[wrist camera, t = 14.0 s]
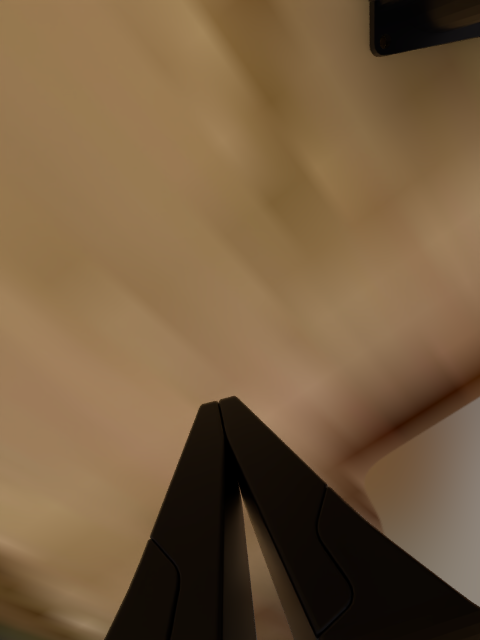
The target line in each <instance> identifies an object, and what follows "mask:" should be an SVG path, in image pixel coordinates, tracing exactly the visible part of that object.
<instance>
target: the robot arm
mask: <svg viewBox="0 0 480 640" xmlns="http://www.w3.org/2000/svg"><path fill="white" fill-rule="evenodd" d="M369 1H370V50H371V52H372V54H373V55H375V56H376V57H382V56H387V55H392V54H397V53H402V52H407V51H412V50H417V49H422V48H427V47H432V46H437V45H442V44H447V43H452V42H456V41H461V40H466V39H471V38H476V37H480V0H369ZM382 36H384V37H385V38H386V45H385V47H384V48H382V47H381V46H380V39H381V37H382ZM239 487H240V489H239ZM240 491H241V494H240ZM241 495H242V498H243V501H244V504H245V507H246V509H247V512H248V515H249V518H250V520H251V523H252V526H253V528H254V531H255V534H256V537H257V539H258V542H259V545H260V547H261V550H262V553H263V556H264V558H265V561H266V564H267V567H268V569H269V572H270V575H271V577H272V580H273V583H274V586H275V588H276V591H277V594H278V596H279V599H280V602H281V605H282V607H283V610H284V613H285V615H286V618H287V621H288V624H289V626H290V629H291V632H292V635H293V637H294V640H480V607H479V606H477V605H476V604H474V603H473V602H471V601H470V600H468V599H467V598H466V597H464V596H463V595H462V594H460V593H459V592H458V591H456V590H455V589H454V588H452V587H451V586H450V585H448V584H447V583H446V582H445V581H443V580H442V579H441V578H439V577H438V576H437V575H435V574H434V573H433V572H432V571H430V570H429V569H428V568H426V567H425V566H424V565H422V564H421V563H420V562H419V561H417V560H416V559H415V558H413V557H412V556H411V555H409V554H408V553H407V552H406V551H404V550H403V549H402V548H400V547H399V546H398V545H396V544H395V543H394V542H393V541H391V540H390V539H389V538H387V537H386V536H385V535H384V534H382V533H381V532H380V531H379V530H378V529H376V528H375V527H374V526H373V525H371V524H370V523H369V522H368V521H366V520H365V519H364V518H363V517H362V516H361V515H360V514H358V513H357V512H356V511H355V510H354V509H353V508H352V507H351V506H350V505H349V504H347V503H346V502H345V501H344V500H343V499H342V498H341V497H340V496H339V495H338V494H337V493H336V492H335V491H334V490H333V489H332V488H331V487H328V486H327V484H326V483H325V482H324V481H323V480H322V479H321V478H320V477H319V476H318V475H317V474H316V473H315V472H314V471H313V470H312V469H311V468H310V467H309V466H308V465H307V464H306V463H305V462H304V461H303V460H301V459H300V458H299V457H298V456H297V455H296V454H295V453H294V452H293V451H292V450H291V449H290V448H289V447H288V446H287V445H286V444H285V443H284V442H283V441H282V440H281V439H280V438H279V437H278V436H277V435H276V434H275V433H274V432H273V431H272V430H270V429H269V428H268V427H267V426H266V425H265V424H264V423H263V422H262V421H261V420H260V419H259V418H258V417H257V416H256V415H255V414H254V413H253V412H252V411H251V410H250V409H249V408H248V407H247V406H246V405H245V404H244V403H243V402H242V401H241V400H239V399H238V398H237V397H236V396H232V397H228V398H224V399H221V400H220V401H219V403H218V402H217V401H213V402H209V403H205V404H202V405H201V406H200V408H199V410H198V413H197V415H196V418H195V420H194V423H193V426H192V428H191V431H190V433H189V436H188V439H187V441H186V444H185V446H184V449H183V452H182V454H181V457H180V459H179V462H178V465H177V467H176V470H175V472H174V475H173V478H172V480H171V483H170V485H169V488H168V491H167V493H166V496H165V498H164V501H163V504H162V506H161V509H160V511H159V514H158V517H157V519H156V522H155V524H154V527H153V530H152V532H151V535H150V538H151V539H149V540H148V542H147V545H146V547H145V550H144V552H143V555H142V558H141V560H140V563H139V565H138V567H137V570H136V572H135V575H134V577H133V579H132V582H131V584H130V587H129V589H128V591H127V593H126V596H125V598H124V600H123V602H122V604H121V606H120V608H119V610H118V612H117V614H116V616H115V619H114V621H113V623H112V625H111V627H110V629H109V631H108V633H107V635H106V637H105V639H104V640H257V638H256V629H255V619H254V610H253V601H252V592H251V582H250V573H249V564H248V554H247V545H246V536H245V527H244V517H243V508H242V501H241Z"/></svg>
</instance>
